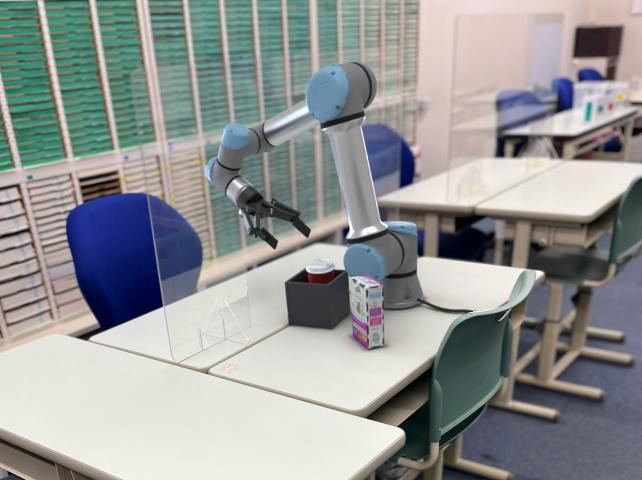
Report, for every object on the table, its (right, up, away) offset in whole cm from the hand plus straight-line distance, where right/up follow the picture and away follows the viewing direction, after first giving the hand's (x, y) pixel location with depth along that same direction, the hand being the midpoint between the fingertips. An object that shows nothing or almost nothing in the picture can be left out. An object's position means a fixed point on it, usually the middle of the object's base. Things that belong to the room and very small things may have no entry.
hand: (293, 239), depth 200 cm
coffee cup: (+9, -20, +4) cm, 23 cm away
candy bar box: (+20, -32, -14) cm, 40 cm away
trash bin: (+8, -22, +3) cm, 24 cm away
